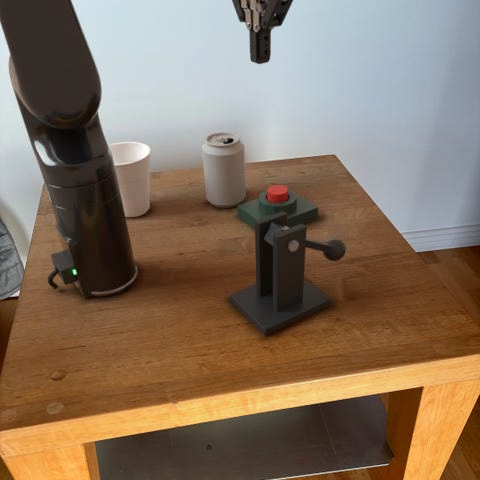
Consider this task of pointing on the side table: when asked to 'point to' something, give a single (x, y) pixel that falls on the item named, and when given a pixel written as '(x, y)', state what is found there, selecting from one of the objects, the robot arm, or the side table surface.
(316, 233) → the side table surface
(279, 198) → the power button
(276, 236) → the pivot lever stand
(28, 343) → the side table surface
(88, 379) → the side table surface
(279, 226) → the switch lever
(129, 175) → the cup
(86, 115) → the robot arm
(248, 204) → the button base block
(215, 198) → the can
